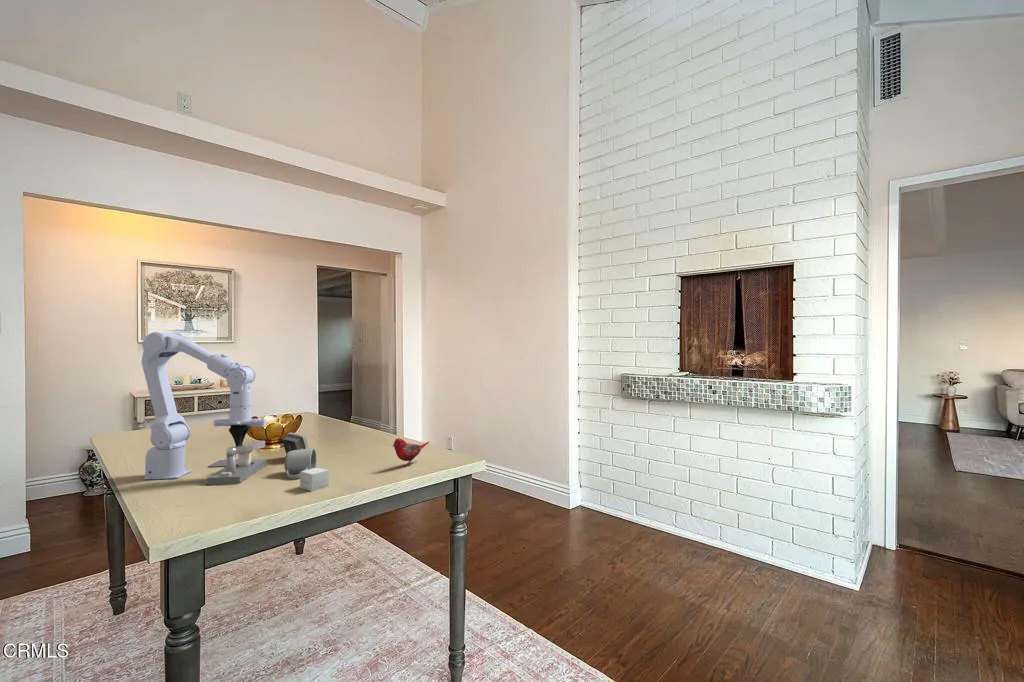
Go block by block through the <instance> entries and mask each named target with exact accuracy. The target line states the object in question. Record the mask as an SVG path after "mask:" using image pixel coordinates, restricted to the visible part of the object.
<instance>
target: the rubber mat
mask: <svg viewBox="0 0 1024 682" xmlns="http://www.w3.org/2000/svg"><path fill="white" fill-rule="evenodd" d="M237 460H238V459H236V461H237ZM225 467H227V459H218V460H217V461H214V462H213V463H212V464H210V465H207V468H225Z"/></svg>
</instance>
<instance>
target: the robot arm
mask: <svg viewBox="0 0 1024 682" xmlns="http://www.w3.org/2000/svg"><path fill="white" fill-rule="evenodd" d="M141 346H142V350H143V352H142V357H141V367H142V370H143V374H144V378H145V382H146V385H147V390H148V393H149V398H150V401H151V405H152V406H151V407H152V409H153V413H154V418H155V419H154V420H153V421H152V423H151V425H150V435H149V436H150V437H149V438H150V439H149V440H150V443H151V444H152V446H153V447H150V448H149V449H148V450H147V452H146V455H145V462H144V463H145V472H144V473H145V476H144V477H143V480H163V479H164V480H165V479H167V480H168V479H170V480H171V479H179V478H181V477H183V476H184V475H187V474H189V473H191V472H192V469H186V444H187V441H188V440H189V439H190V436H191V433H192V431H191V428H190V426H189V425H188V424H187V422H186V420H185V417H184V416H182V415H181V414H180V413H178V411H177V406H176V403H175V399H174V398H175V397H174V394H173V390H172V387H171V383H170V379H169V375H168V372H167V371H168V370H167V368H166V364H167V363H168V362H169V360H170V359H171V358H173V357H174V356H175V355H177V354H178V353H184V354H186V355H188V356H191V358H195V359H196V360H199V361H201V362H202V363H205V364H206V368H207V369H208V370H209V371H211V372H213V373H215V374H216V375H217V376H220V377H221V378H223V379H225V380H226V382H227V384H228V385H229V418H220V419H218V418H217V419H214V420H213V428H214V427H217V428H218V427H230V428H228V432H229V433H230V435H231V437H232V439H233V441H234V444H235V446H239V445H243V444H244V440H245V438H246V436H247V433H248V431H249V430H250V428H251V427H260V428H261V427H263V428H264V427H266V426H267V419H263V418H252V389H253V387H252V386H253V385H252V384H253V382H254V381H255V379H256V372H255V370H254V368H252V367H251V366H250V365H244V366H243V365H242V363H241V362H239V361H237V362H236V361H234V360H233V359H231V358H229V355H228V354H227V353H216V354H214V353H212V352H211V351H209V350H208V349H206V348H204V347H203V346H201V345H200V344H197V343H196V342H195V341H192V339H190V338H189V337H188V336H185V335H183V334H181V333H179V332H157V331H153V332H150V333H149V334H147V336H145V338H144V339H143V340H142V342H141Z"/></svg>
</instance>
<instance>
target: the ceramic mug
mask: <svg viewBox="0 0 1024 682" xmlns="http://www.w3.org/2000/svg"><path fill="white" fill-rule="evenodd" d="M317 462H318V461H317V451H316V449H315V448H313V447H312V448H309V449H302V450H293V451H290V452H288V453H287V454H286V453H285V457H284V470H285V472H286V475H287V478H288V479H290V480H298V479H297V478H299V479H300V472H301V471H304V470H309V469H312V468H317Z"/></svg>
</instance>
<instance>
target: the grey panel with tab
mask: <svg viewBox="0 0 1024 682" xmlns="http://www.w3.org/2000/svg"><path fill="white" fill-rule="evenodd" d="M226 460H227V467H222V468H221V469H220V470H218V471H217V472H214V473H213V474H211V475H208V476H207V477H206V485H207V484H214V485H233V484H234V483H240V484H242V483H243V482H244V481H246V480H248V479H249V478H250V477H252V476H253V475H254V473H255V472H256V473H257V471H258V470H259V471H260V470H262V469H264V468H265V467H267V465H268V464H267V459H251V465H250V466H243V467H238V459H237V454H236V455H231V456H227V455H226ZM236 460H237V461H236ZM264 466H265V467H264ZM261 468H262V469H261ZM259 471H258V472H259ZM256 473H255V474H256ZM252 474H253V475H252ZM251 475H252V476H251ZM249 476H250V477H249ZM248 477H249V478H248ZM245 479H246V480H245ZM242 481H243V482H242ZM234 485H235V484H234Z"/></svg>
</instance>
